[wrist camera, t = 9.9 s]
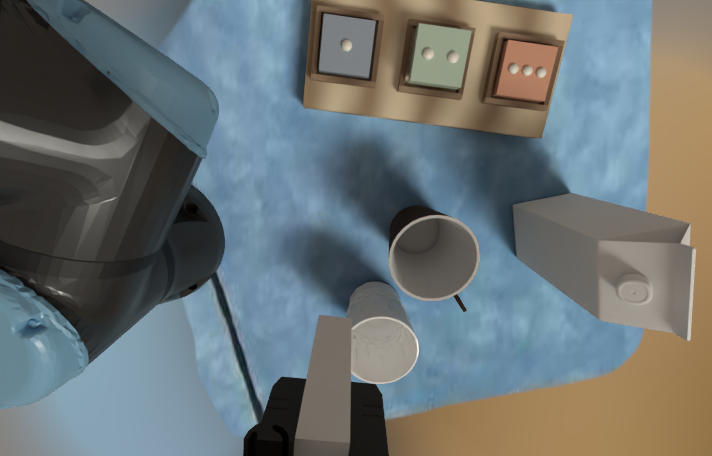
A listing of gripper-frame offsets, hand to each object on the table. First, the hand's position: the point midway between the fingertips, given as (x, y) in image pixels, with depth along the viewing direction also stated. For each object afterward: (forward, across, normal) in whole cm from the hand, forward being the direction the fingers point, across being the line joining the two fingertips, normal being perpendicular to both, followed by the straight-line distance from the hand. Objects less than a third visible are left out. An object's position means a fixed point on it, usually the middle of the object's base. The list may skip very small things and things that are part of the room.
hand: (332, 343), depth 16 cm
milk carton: (+27, -24, -1) cm, 36 cm away
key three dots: (+24, -16, -17) cm, 34 cm away
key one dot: (+24, +2, -18) cm, 30 cm away
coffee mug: (+27, -9, +2) cm, 28 cm away
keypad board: (+26, -7, -18) cm, 32 cm away
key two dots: (+23, -7, -18) cm, 30 cm away
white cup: (+27, -5, +11) cm, 29 cm away
